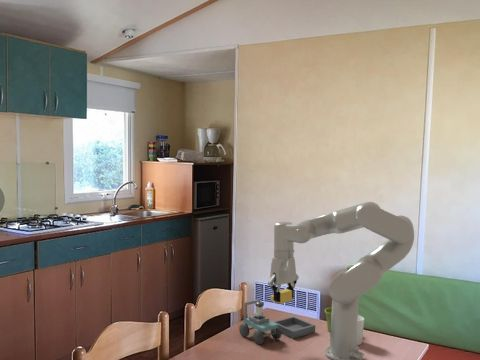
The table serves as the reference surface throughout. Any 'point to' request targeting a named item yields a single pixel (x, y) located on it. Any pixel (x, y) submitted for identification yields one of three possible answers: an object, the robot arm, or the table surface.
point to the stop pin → (259, 310)
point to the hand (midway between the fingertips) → (283, 299)
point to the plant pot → (328, 318)
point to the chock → (283, 296)
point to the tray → (295, 327)
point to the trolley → (258, 326)
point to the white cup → (359, 329)
